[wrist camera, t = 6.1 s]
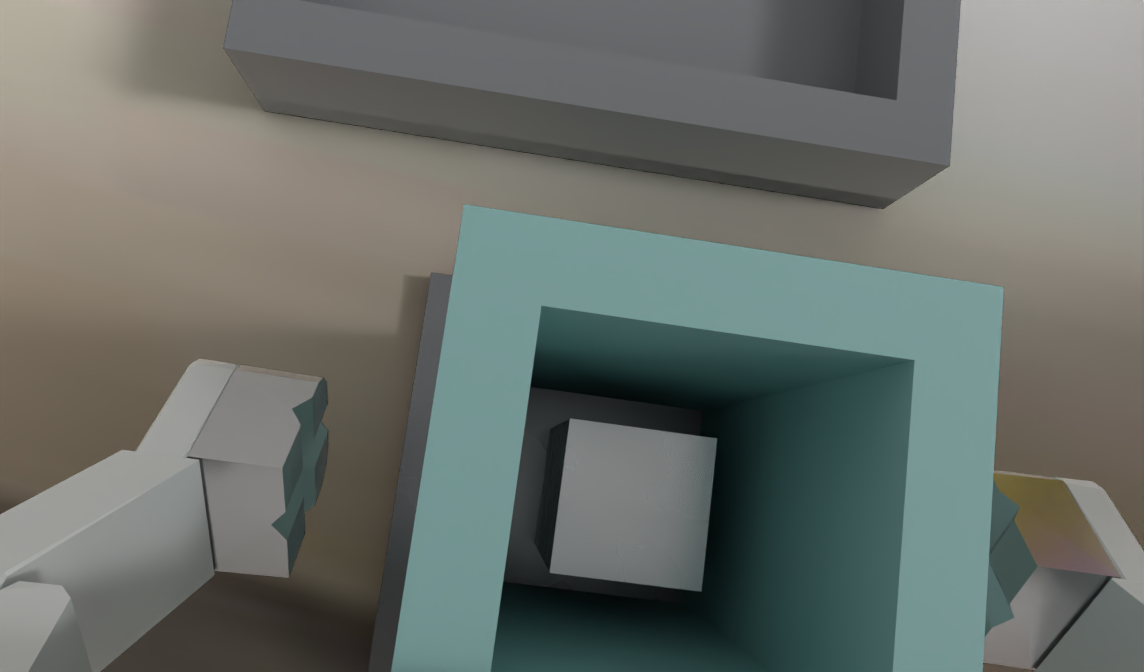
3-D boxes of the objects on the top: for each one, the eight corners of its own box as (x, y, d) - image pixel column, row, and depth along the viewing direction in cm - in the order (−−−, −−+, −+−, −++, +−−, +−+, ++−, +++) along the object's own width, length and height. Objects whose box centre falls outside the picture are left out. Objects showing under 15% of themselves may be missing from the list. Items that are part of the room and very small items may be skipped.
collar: (757, 294, 16) (1011, 132, 8) (721, 656, 15) (971, 869, 7) (490, 253, 16) (488, 45, 8) (435, 621, 15) (369, 807, 7)
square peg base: (800, 331, 16) (909, 284, 12) (764, 715, 15) (871, 814, 11) (432, 276, 16) (410, 208, 12) (369, 670, 15) (319, 756, 11)
